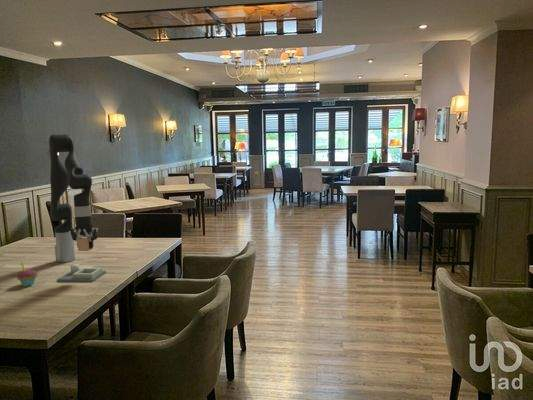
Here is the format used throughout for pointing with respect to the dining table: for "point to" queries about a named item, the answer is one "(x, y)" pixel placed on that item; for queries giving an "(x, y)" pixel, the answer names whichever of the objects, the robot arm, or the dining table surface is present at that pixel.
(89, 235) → the robot arm
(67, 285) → the dining table surface
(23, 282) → the cupcake
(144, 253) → the dining table surface
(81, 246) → the block
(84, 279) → the base board
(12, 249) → the dining table surface
